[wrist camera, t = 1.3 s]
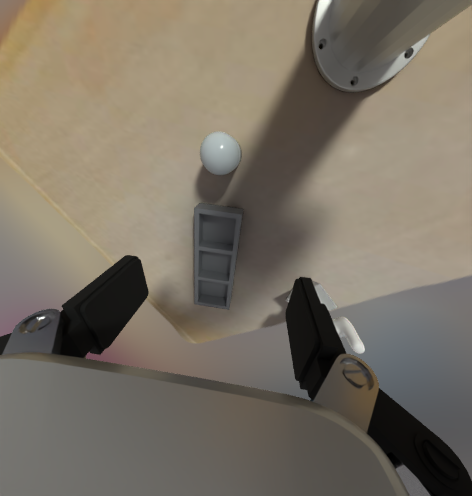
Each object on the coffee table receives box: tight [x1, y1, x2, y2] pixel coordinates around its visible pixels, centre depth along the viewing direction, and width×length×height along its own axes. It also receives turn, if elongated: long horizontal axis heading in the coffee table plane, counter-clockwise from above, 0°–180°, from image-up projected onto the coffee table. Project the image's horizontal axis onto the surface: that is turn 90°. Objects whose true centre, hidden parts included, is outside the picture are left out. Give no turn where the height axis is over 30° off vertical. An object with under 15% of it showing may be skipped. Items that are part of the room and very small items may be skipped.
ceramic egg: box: [200, 131, 242, 175], centre depth 24 cm, size 5×5×8 cm
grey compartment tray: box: [194, 203, 243, 310], centre depth 35 cm, size 22×8×3 cm, turn 173°
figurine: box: [286, 281, 365, 353], centre depth 31 cm, size 7×9×15 cm
